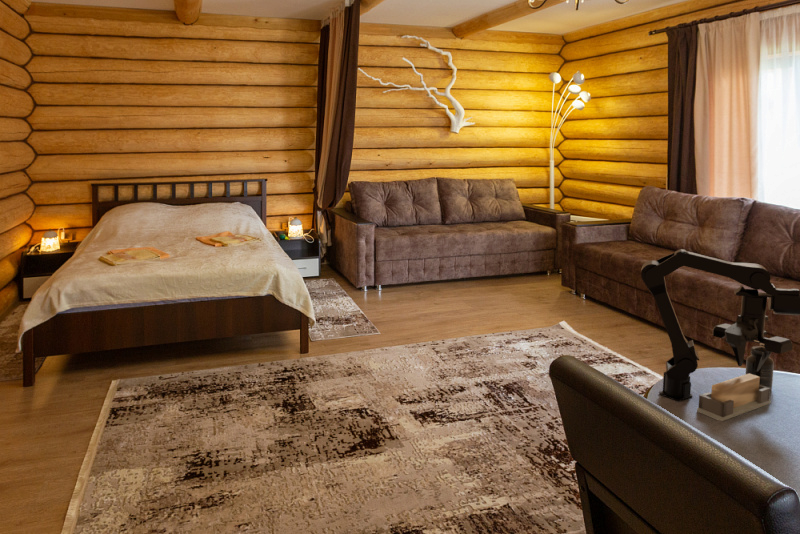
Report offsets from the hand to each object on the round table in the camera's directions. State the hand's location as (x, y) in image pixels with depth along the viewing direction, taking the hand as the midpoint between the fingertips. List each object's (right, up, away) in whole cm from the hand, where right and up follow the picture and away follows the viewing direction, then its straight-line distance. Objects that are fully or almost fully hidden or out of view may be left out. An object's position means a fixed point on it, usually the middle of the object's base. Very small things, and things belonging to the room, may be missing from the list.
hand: (748, 368), depth 167 cm
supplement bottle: (+9, -8, +12) cm, 17 cm away
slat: (-4, -9, -1) cm, 10 cm away
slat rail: (-4, -10, 0) cm, 11 cm away
